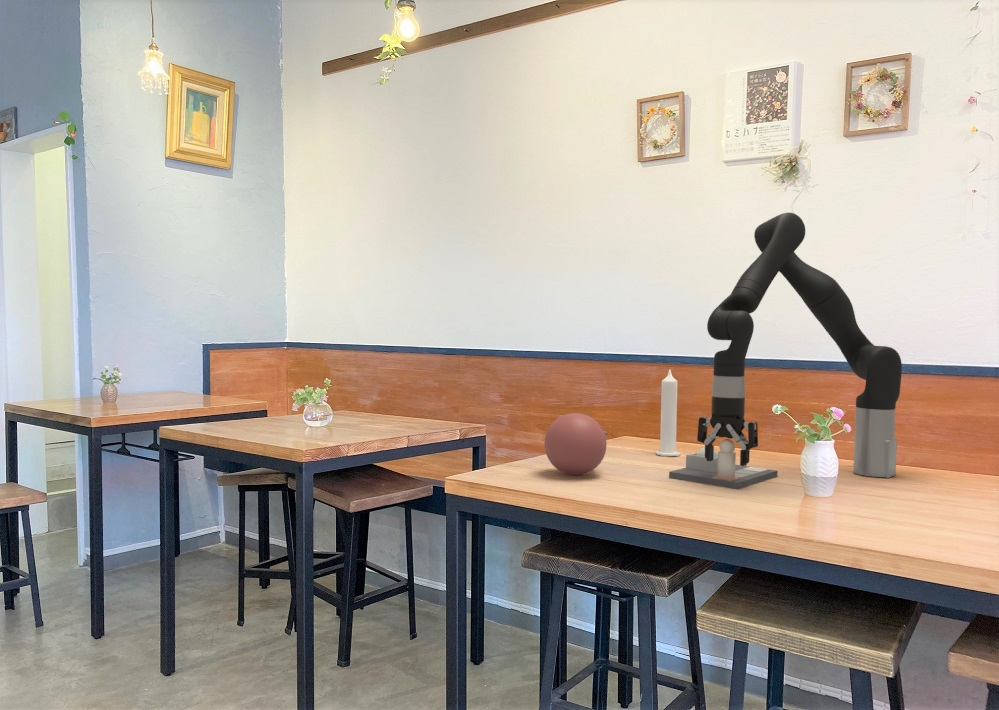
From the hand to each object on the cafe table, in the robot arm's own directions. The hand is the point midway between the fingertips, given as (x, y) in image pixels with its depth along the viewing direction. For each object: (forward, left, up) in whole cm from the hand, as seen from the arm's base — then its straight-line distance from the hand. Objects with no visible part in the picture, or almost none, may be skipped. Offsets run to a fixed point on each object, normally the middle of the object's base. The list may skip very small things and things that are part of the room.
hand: (726, 463), depth 180 cm
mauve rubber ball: (+32, +15, -5) cm, 35 cm away
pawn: (0, 0, -3) cm, 3 cm away
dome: (+9, -8, -4) cm, 13 cm away
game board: (+4, -8, -5) cm, 10 cm away
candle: (+32, -27, -5) cm, 42 cm away
